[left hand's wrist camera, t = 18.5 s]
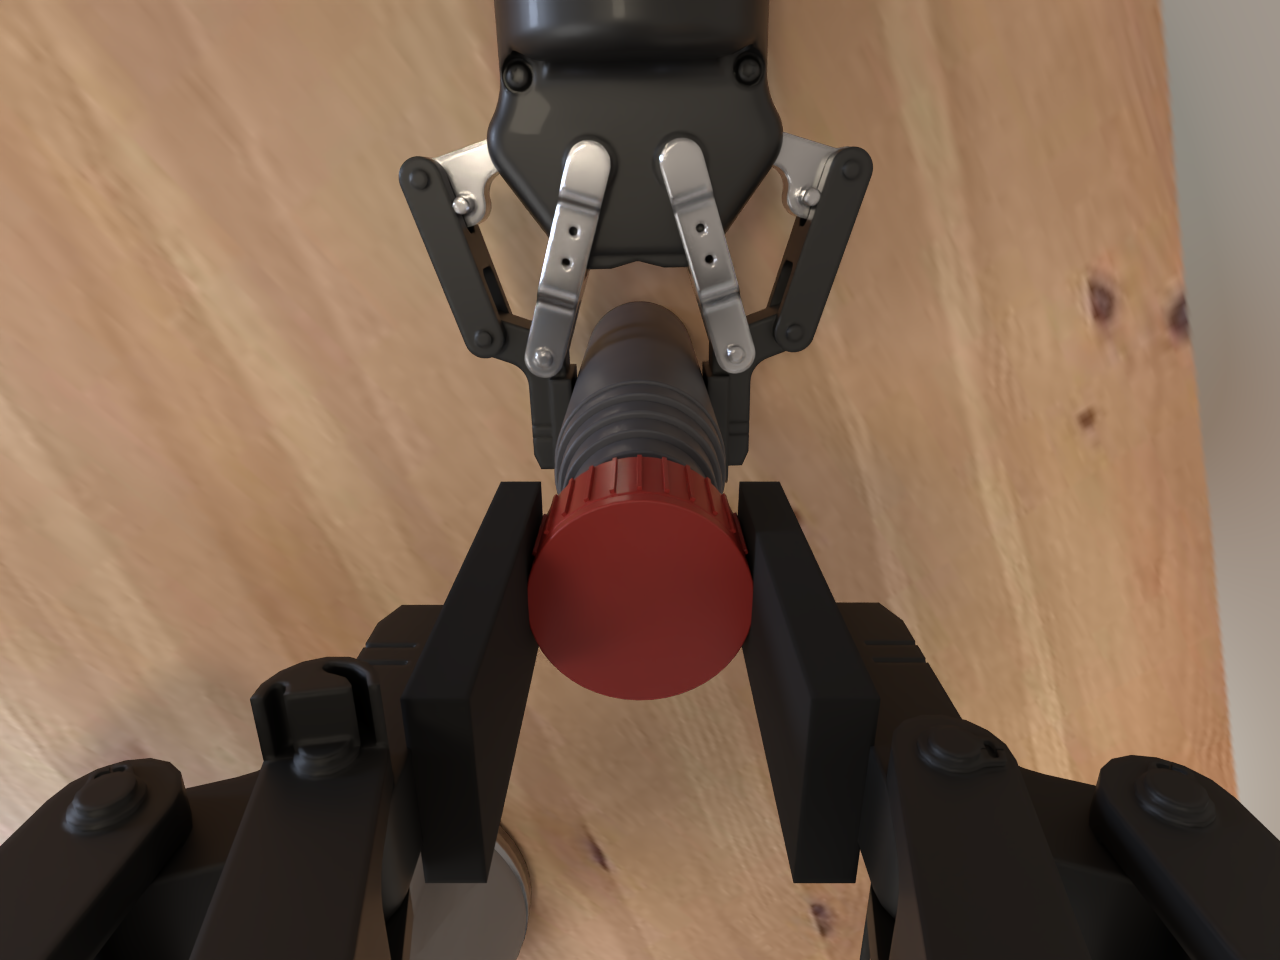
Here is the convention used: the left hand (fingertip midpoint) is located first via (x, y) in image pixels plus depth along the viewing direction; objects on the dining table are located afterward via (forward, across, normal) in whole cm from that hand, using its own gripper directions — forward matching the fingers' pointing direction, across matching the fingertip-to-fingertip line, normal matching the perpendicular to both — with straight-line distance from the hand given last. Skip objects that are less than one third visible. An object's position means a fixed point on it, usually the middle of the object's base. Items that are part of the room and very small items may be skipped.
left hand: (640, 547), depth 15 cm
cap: (-2, 0, 0) cm, 2 cm away
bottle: (+18, 0, 0) cm, 18 cm away
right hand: (+11, 0, -3) cm, 11 cm away
